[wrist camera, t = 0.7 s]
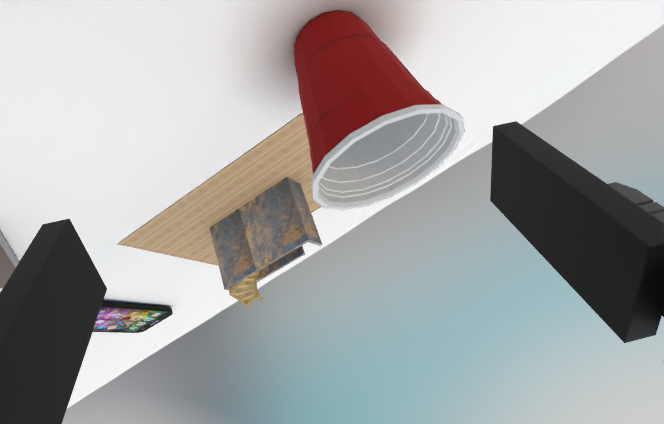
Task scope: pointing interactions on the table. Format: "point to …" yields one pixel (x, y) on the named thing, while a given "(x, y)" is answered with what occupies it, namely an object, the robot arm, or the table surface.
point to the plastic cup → (366, 115)
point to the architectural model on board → (244, 215)
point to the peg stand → (6, 261)
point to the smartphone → (129, 317)
